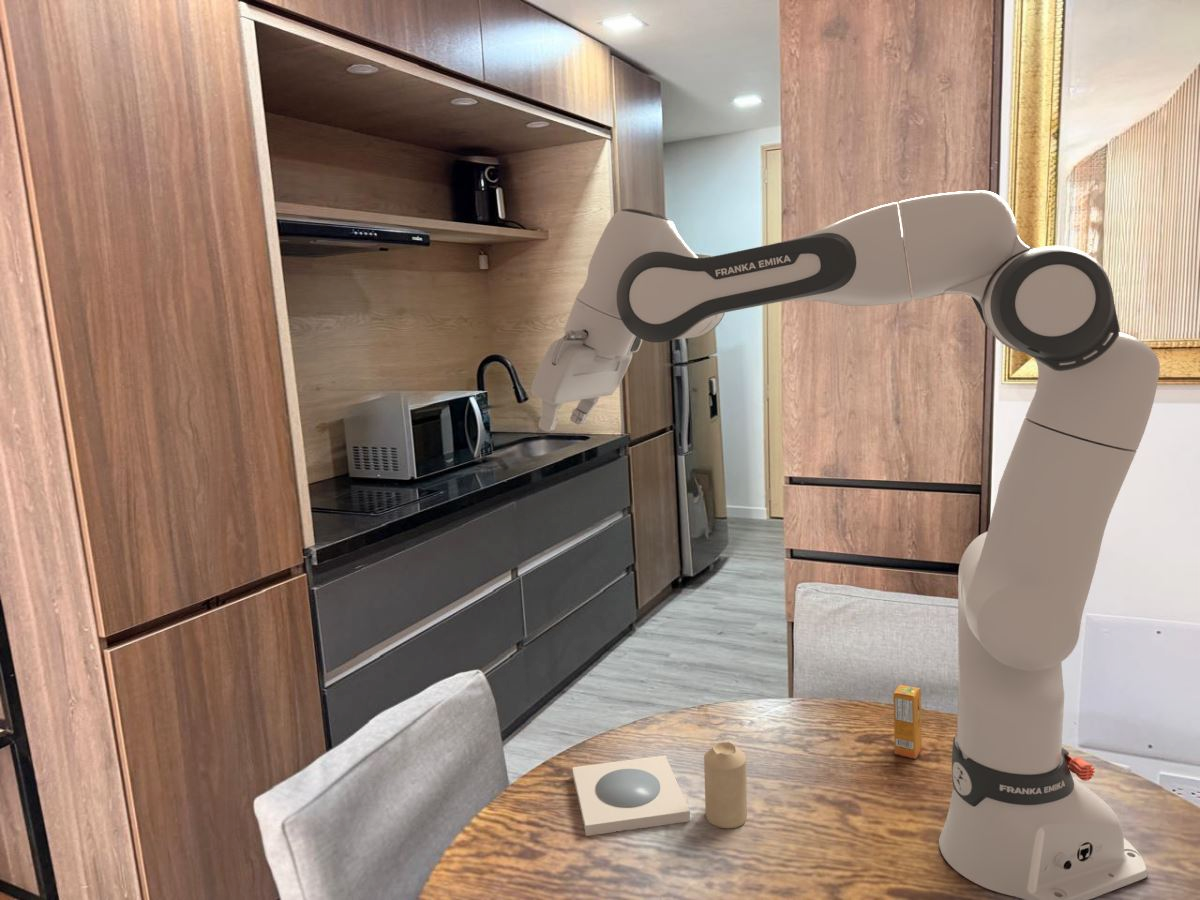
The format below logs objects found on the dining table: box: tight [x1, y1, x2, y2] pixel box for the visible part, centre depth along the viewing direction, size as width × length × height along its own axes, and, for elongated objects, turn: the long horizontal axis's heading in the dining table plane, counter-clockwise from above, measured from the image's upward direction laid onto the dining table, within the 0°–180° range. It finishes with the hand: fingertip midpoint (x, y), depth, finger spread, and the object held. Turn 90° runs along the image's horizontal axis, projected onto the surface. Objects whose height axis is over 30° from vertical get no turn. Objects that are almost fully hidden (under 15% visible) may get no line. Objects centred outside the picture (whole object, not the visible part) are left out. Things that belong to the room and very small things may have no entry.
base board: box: [572, 754, 691, 837], centre depth 113 cm, size 14×14×2 cm
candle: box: [703, 741, 748, 829], centre depth 108 cm, size 6×6×10 cm
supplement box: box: [892, 684, 923, 760], centre depth 121 cm, size 3×3×10 cm
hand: (561, 425), depth 109 cm, fingers open, 8 cm apart
